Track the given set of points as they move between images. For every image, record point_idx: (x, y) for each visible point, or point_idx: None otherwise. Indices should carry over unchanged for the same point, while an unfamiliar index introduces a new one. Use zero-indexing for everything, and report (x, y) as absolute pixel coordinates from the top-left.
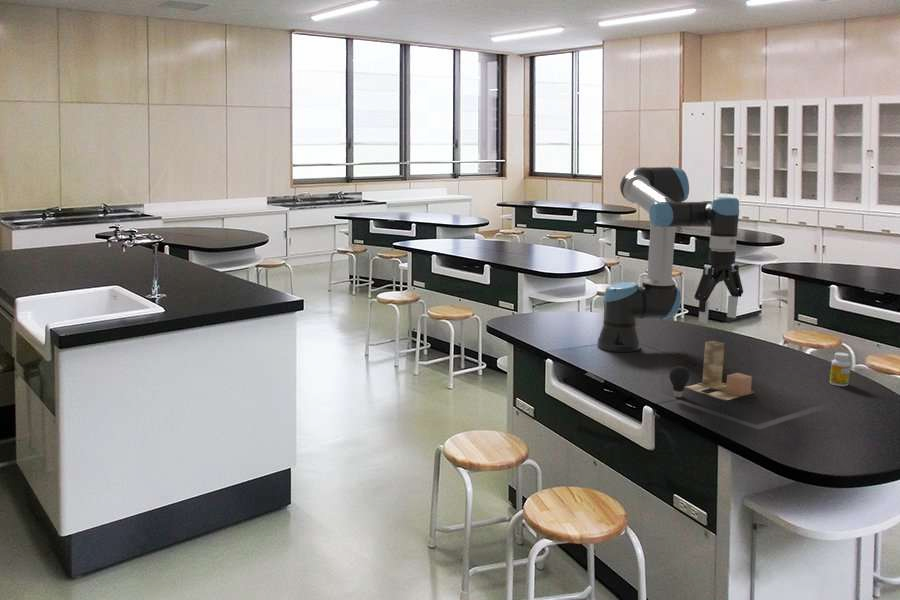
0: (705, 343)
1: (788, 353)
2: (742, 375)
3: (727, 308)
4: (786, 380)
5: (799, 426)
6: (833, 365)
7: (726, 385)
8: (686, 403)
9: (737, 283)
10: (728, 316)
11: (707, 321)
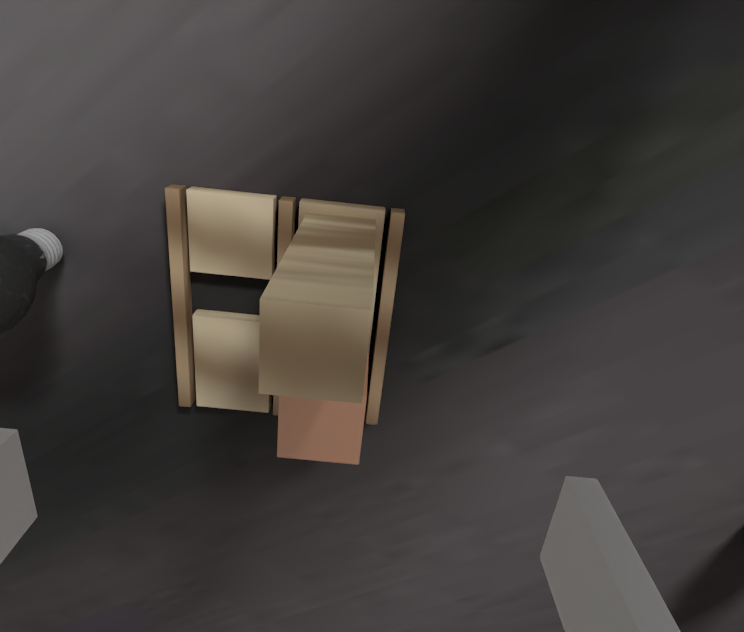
0: (260, 299)
1: None
2: (338, 432)
3: (608, 569)
4: (704, 396)
5: (208, 608)
6: None
7: None
8: (44, 300)
9: None
10: (561, 499)
11: (22, 530)
